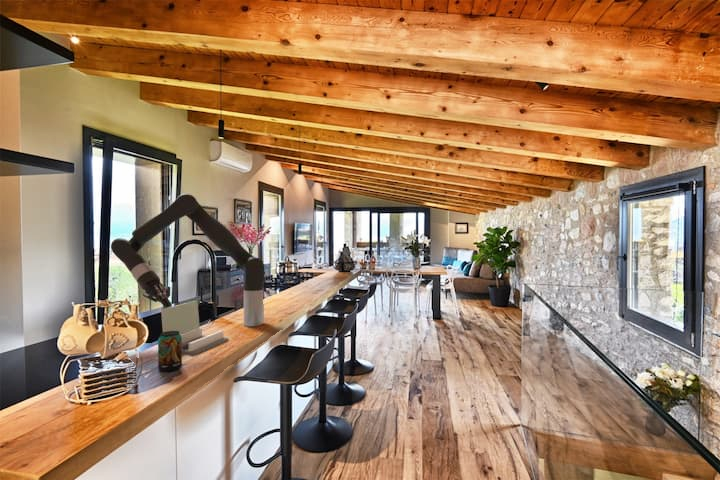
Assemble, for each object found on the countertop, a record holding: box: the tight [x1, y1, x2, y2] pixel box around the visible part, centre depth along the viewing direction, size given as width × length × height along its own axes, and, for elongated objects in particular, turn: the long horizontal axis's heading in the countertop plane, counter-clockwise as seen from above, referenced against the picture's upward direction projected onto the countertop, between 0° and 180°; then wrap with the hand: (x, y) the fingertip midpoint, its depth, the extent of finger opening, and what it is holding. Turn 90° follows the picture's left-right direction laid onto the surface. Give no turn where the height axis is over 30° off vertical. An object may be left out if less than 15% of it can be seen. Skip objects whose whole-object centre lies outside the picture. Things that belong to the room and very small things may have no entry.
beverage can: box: [157, 331, 183, 373], centre depth 126 cm, size 7×7×12 cm
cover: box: [160, 300, 201, 335], centre depth 154 cm, size 19×12×1 cm
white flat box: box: [181, 328, 229, 356], centre depth 152 cm, size 20×16×4 cm
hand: (169, 306), depth 155 cm, fingers closed
